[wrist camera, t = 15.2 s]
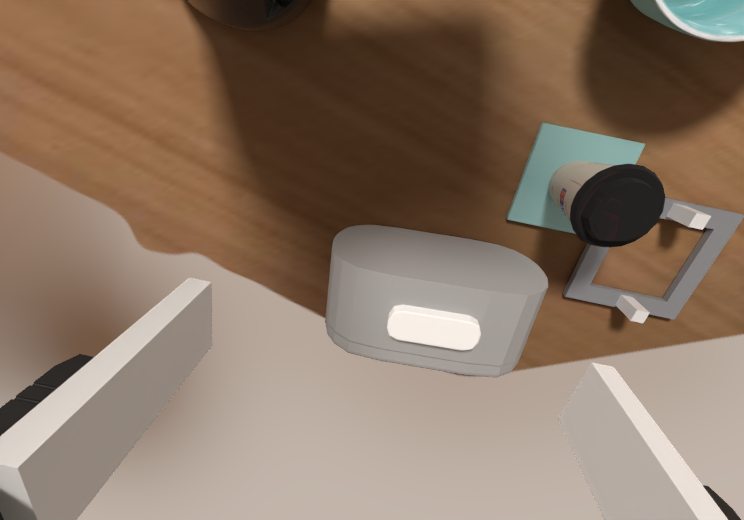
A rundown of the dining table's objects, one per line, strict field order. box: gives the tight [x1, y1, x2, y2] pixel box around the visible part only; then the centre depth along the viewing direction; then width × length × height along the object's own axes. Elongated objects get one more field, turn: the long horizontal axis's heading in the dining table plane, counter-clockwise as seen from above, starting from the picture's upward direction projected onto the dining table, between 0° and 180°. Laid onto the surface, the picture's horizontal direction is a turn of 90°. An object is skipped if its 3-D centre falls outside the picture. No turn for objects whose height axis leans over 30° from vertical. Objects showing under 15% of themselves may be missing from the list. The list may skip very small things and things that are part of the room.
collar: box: [563, 198, 744, 323], centre depth 38 cm, size 13×13×4 cm
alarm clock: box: [325, 225, 548, 377], centre depth 37 cm, size 21×10×13 cm, turn 82°
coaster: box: [506, 122, 645, 234], centre depth 37 cm, size 10×10×1 cm
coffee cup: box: [549, 161, 665, 247], centre depth 32 cm, size 7×7×10 cm
